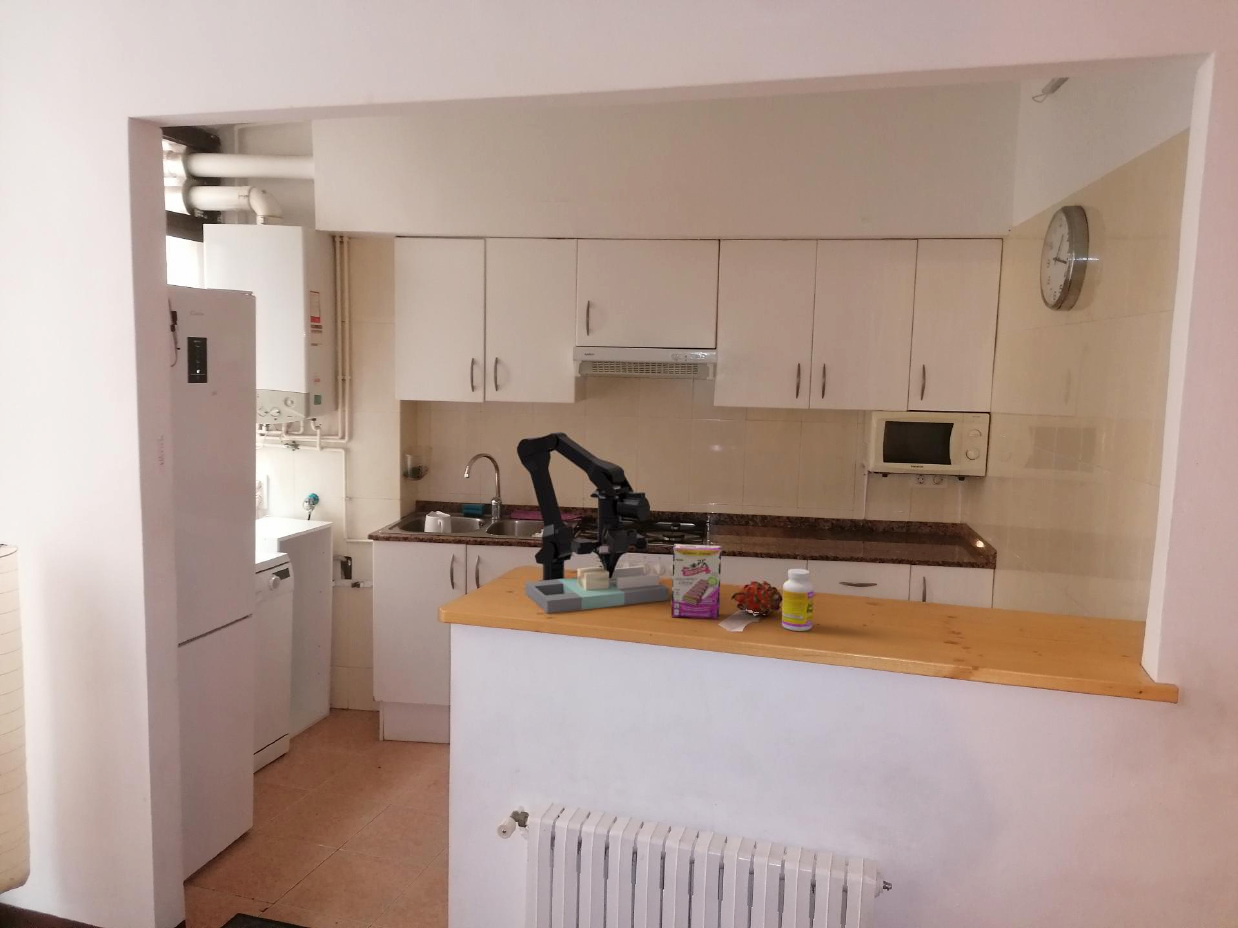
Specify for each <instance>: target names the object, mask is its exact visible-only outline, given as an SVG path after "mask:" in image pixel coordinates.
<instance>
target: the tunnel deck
mask: <svg viewBox="0 0 1238 928" xmlns="http://www.w3.org/2000/svg"><path fill="white" fill-rule="evenodd" d="M524 585H525V587H524V590H525V591H524V594H525V595H526V596H527V597H528V598H529V599H530V600H532V601H533V602H534V603H535V604H536V605H537V606H538V607H540V608H541V609H542V610H543V611H544V612H545V613H546V614H554V613H555V614H556V613H562V612H564V613H565V612H571V611H572V612H573V611H574V612H575V611H580V610H591V609H600V608H609V607H618V606H626V605H637V604H645V603H653V602H654V603H655V602H663V601H664V602H665V601H670V588H669V587H668V586H666V585H665V584H662V583H661V582H660V574H658V573H655V574H652V573H651V574H645V567H644V566H643V565H638V566H637V565H635V566H626V567H615V570H614V572H613V575H612V578H609V588H603V589H593V590H585V589H584V588H582V587H581V586H579V585H578V576H576V577H568V578H565V577H564V579H555V580H544V581H539V580H537V581H536V580H534V581H526V582H524Z"/></svg>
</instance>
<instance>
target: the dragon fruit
mask: <svg viewBox="0 0 1238 928" xmlns="http://www.w3.org/2000/svg"><path fill="white" fill-rule="evenodd" d="M730 599H731V601H735V602H738V603H736V605H735V606H736V608H737V609H739V610H740V611H742V610H746V609H747V610H752V611H753V613H754V612H759V613H754V614H759V615H760V614H762V613H763V614H765V615H764V616H769V615H770V612H775V611H779V610H780V609H781V605H780V604H781V603H783V595H782V594H781V592H780V591H779V590H778V589H777V587H775V586H772V585H771V584H770V583H769V582H767V581H766V580H765V581H764V580H762V583H761V582H758V581H757V580H755V581H750V584H748V583H747V584H744V587H743V588H741V589H739V590H738V591H737V592H735V593H734V594H733V595H732V596H731V598H730ZM761 612H762V613H761ZM753 613H752V614H753ZM763 614H762V615H763Z"/></svg>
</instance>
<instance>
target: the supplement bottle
mask: <svg viewBox="0 0 1238 928" xmlns="http://www.w3.org/2000/svg"><path fill="white" fill-rule="evenodd" d="M810 575H811V574H810V570H809V569H805V568H790V569H788V571H787V577H788V580H787V581H785V582H784V583H783V585H782V598H783V600H782V609H781V611H782V612H781V625H782V628H784V629H786V630H788V631H794V632H806V631H809V630H811V629H812V627H813V611H814V607H813V606H814V585H813V583H812V582H810V581H809V579H810V577H811V576H810Z"/></svg>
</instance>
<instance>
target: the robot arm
mask: <svg viewBox="0 0 1238 928" xmlns="http://www.w3.org/2000/svg"><path fill="white" fill-rule="evenodd" d="M554 451H556V452H557V453H558V454H560V455H562V457H564V458H565V459H567V460H568V461H569V462H571V463H572V464H574V465H575V466H576V467H578V468H579V469H580V470H581V471H584V473H585V474H586V475H587V477H588V480H589V481H590V482H591V483H592V485H594V487H596V489H595V491H593V492H592V493H591V494H590V498H591V499H592V498H595V499H597V518H596V520H595V522H596V524H597V535H595V536H596V537H595V538H596V540H597V541H596V540H595V541H591V540H590V539H588V538H576V536H575V533H574V532H575V531H574V527H573V526H572V525H566V523H565V522H564V521H563V518H562V514H561V510H560V507H559V502H558V499H557V496H556V492H555V489H554V484H553V481H552V478H551V473H550V469H549V467H550V462H551V457H552V456H551V452H554ZM516 453H517V456H518V459H519V461H520V463H521V465H522V466H523V467H524V468H525V469H526V470H527V472H529V475H530V479H531V482H532V485H533V489H534V494H535V496H536V500H537V504H538V508H539V512H540V515H541V519H542V523H543V530H542V535H541V543H542V547H541V548H540V549H539V550H538V551H537V552H536V553H535V554H534V558H535V559H534V560H535V562H536V564H539V565H542V579H541V580H538V581H544V580H555V579H565V562H566V561H569V560H571V558H572V556H573V553H575V554H576V555H579V556H581V555H590V554H592V553H594V554H596V555H597V556H598V558H599V560H600V563H601V565H602V568H603V569H605V570H606V571H608V572H609V578H612V575H613V572H614V570H615V568H617V564H618V562H619V560H620V558H621V556H623V555H626V554H627V552H628V551H630V547H633V548H635V549H636V550H646V549H648V548H649V547H648V544H649V541H648V539H647V538H646V536H643V535H641V534H639V533H638V532H637V530H636V529H628V530H625V529H624V521H622V519H626V520H633V521H635V520H636V521H642V522H645V521H646V520H647V519H648V517H649V516H650V513H651V504H650V502H649V499H648V498H647V497H646V492H643V491H639V492H635V491H634V489H633V487H632V485H631V484H630V482H629V481H628V479H627V477H626V475H625V470H624V469H623V468H622V467H621V466H619V465H617V464H616V463H614V462H611V461H608V460H604V459H601V458H599V457H597V456H595V455H594V454H593V453H592V452H590V451H589V450H587V449H586V448H584V447H583V446H581V445H580V444H578V443H577V442H576V441H574V440H573V439H571V437H569V436H568V435H567V434H566V433H565V432H562V431H560V432H559V431H558V432H551V433H549V434H547V435H545V436H539V437H529V438H522V439H521V440H520V441H519V442H518V445H517V446H516Z"/></svg>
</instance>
